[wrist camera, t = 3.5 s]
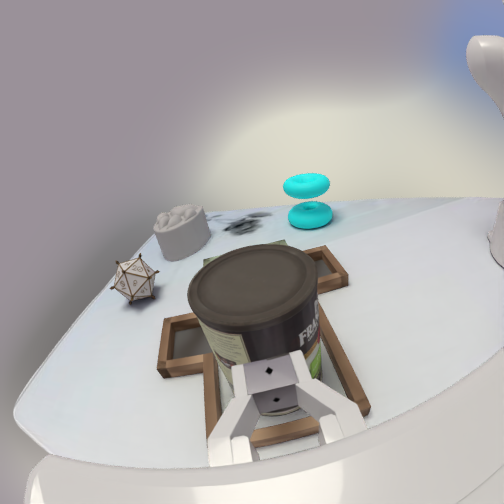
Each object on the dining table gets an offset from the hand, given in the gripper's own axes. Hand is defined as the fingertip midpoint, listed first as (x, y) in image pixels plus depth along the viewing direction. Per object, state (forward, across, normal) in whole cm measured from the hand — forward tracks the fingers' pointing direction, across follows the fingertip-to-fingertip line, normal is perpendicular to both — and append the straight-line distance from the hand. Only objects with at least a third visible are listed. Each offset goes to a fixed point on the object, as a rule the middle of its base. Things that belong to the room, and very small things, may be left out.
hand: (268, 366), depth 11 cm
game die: (+33, +20, +16) cm, 41 cm away
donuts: (+46, -16, +16) cm, 52 cm away
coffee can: (+10, 0, +16) cm, 20 cm away
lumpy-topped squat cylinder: (+50, +12, +16) cm, 54 cm away
